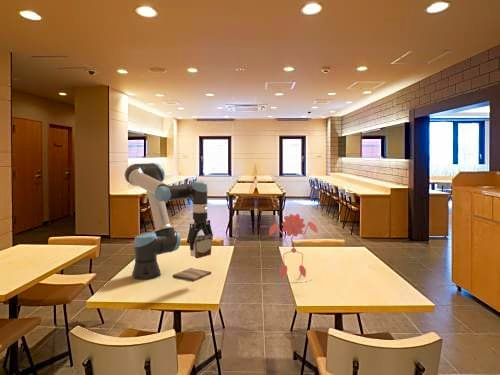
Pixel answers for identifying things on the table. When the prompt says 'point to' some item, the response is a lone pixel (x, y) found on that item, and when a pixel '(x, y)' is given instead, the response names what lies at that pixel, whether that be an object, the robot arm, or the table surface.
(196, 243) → the food container
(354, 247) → the table surface
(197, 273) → the walnut board
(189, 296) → the table surface
